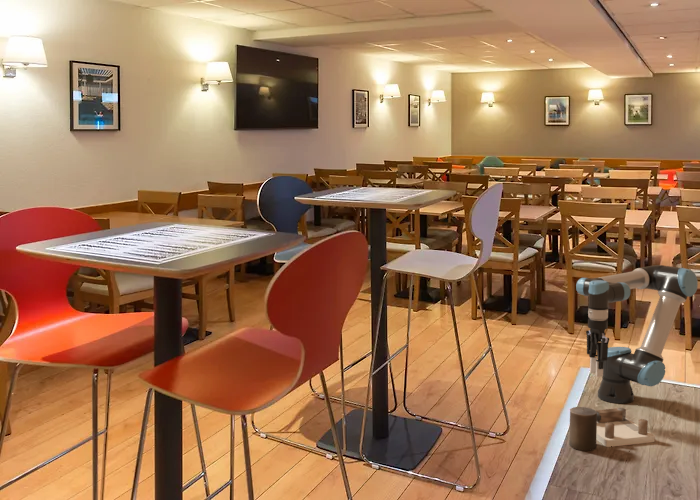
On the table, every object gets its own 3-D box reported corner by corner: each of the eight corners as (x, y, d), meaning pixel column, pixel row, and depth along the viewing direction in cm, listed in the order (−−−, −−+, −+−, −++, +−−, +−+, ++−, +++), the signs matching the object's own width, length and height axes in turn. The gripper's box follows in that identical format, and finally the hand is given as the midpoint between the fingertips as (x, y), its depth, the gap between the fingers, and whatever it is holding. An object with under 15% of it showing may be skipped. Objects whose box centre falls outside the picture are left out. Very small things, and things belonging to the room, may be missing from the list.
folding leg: (622, 417, 267) (622, 407, 267) (627, 420, 264) (627, 410, 263) (593, 419, 265) (594, 409, 264) (598, 423, 261) (599, 413, 261)
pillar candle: (596, 452, 241) (597, 413, 239) (568, 449, 245) (569, 410, 243) (596, 442, 250) (597, 404, 248) (569, 439, 254) (570, 401, 252)
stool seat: (623, 422, 269) (623, 404, 268) (654, 441, 249) (655, 423, 248) (578, 426, 265) (578, 408, 264) (606, 447, 246) (607, 427, 245)
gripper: (578, 314, 273) (577, 369, 276) (600, 324, 257) (599, 381, 260) (594, 313, 275) (593, 367, 278) (618, 322, 258) (616, 380, 261)
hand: (596, 374), depth 269 cm, fingers open, 4 cm apart
